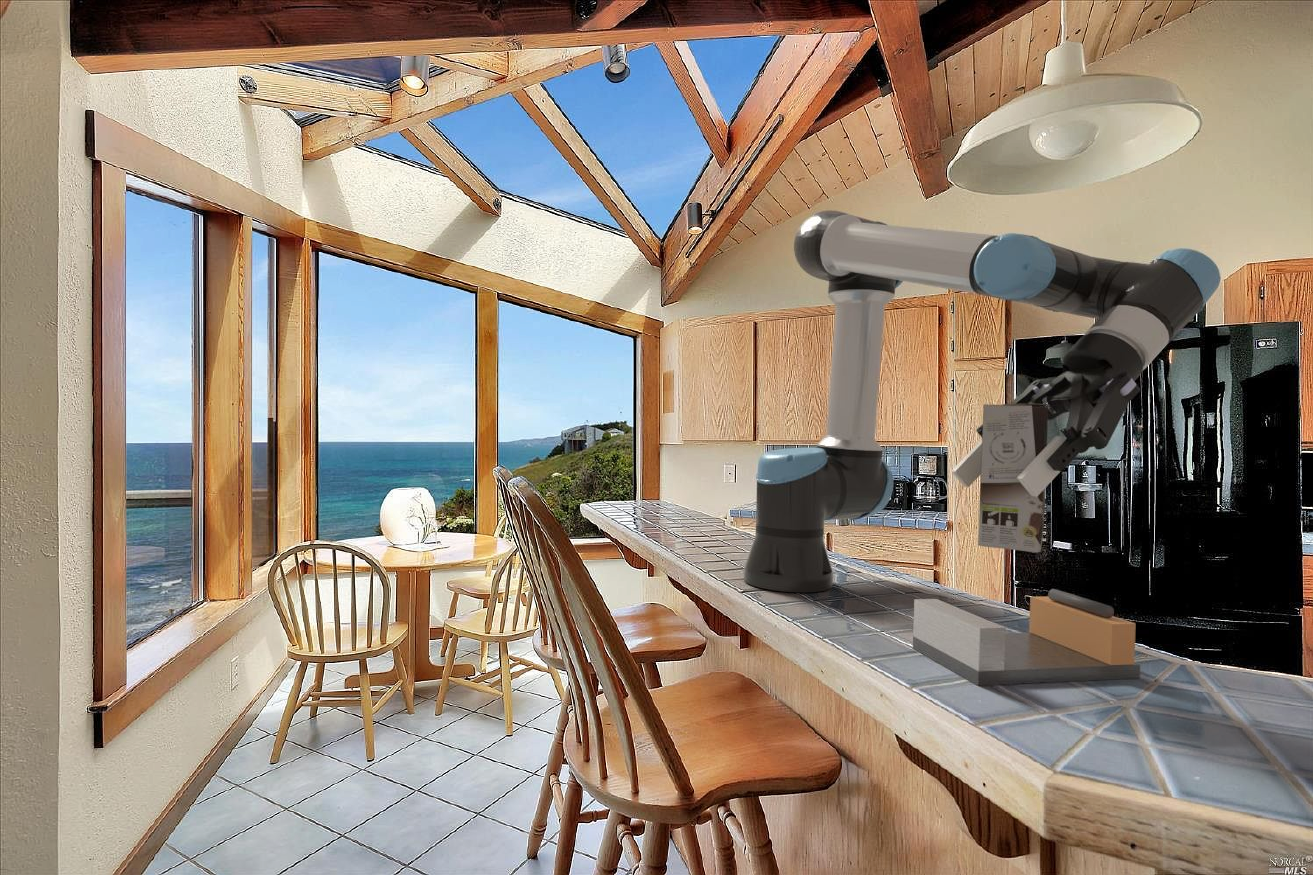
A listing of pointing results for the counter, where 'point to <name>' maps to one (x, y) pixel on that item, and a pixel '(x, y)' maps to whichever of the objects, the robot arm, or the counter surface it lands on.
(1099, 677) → the vise bed
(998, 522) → the coffee box
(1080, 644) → the block
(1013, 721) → the counter surface
